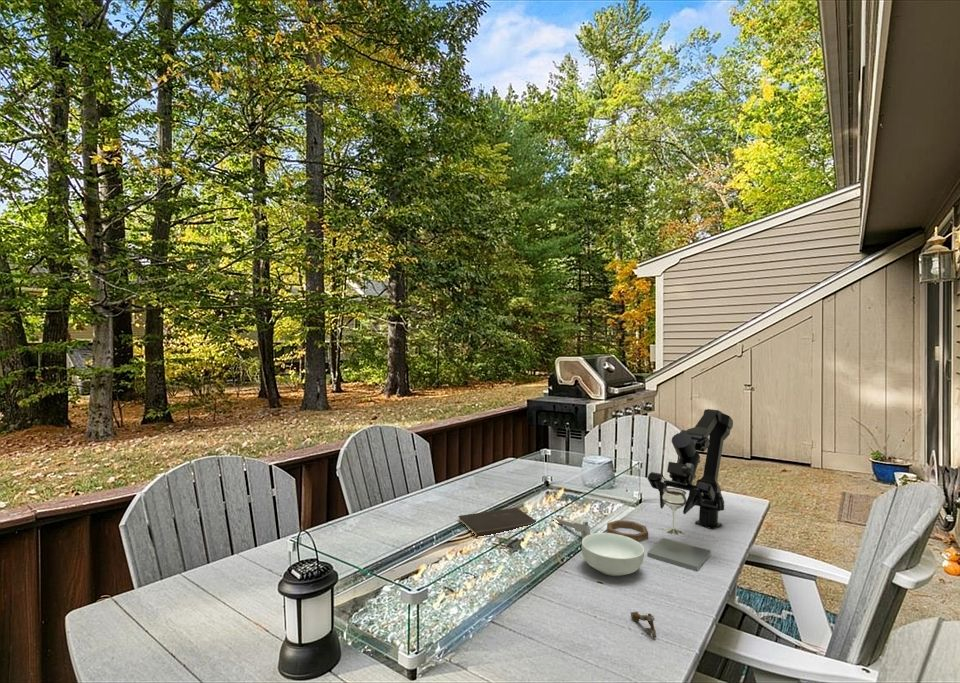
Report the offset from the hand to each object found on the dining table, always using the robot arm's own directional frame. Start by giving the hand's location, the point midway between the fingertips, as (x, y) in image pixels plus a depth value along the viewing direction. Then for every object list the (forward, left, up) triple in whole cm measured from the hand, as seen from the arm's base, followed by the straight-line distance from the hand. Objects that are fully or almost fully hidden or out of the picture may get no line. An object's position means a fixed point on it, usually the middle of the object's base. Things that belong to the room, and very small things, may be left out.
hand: (672, 510), depth 148 cm
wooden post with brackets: (+38, +19, -14) cm, 45 cm away
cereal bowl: (+22, -4, -14) cm, 26 cm away
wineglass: (-1, 0, -7) cm, 7 cm away
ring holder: (-2, -18, -13) cm, 22 cm away
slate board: (-2, +1, -13) cm, 13 cm away
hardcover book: (+29, -47, -14) cm, 57 cm away
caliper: (+12, -30, -14) cm, 35 cm away
